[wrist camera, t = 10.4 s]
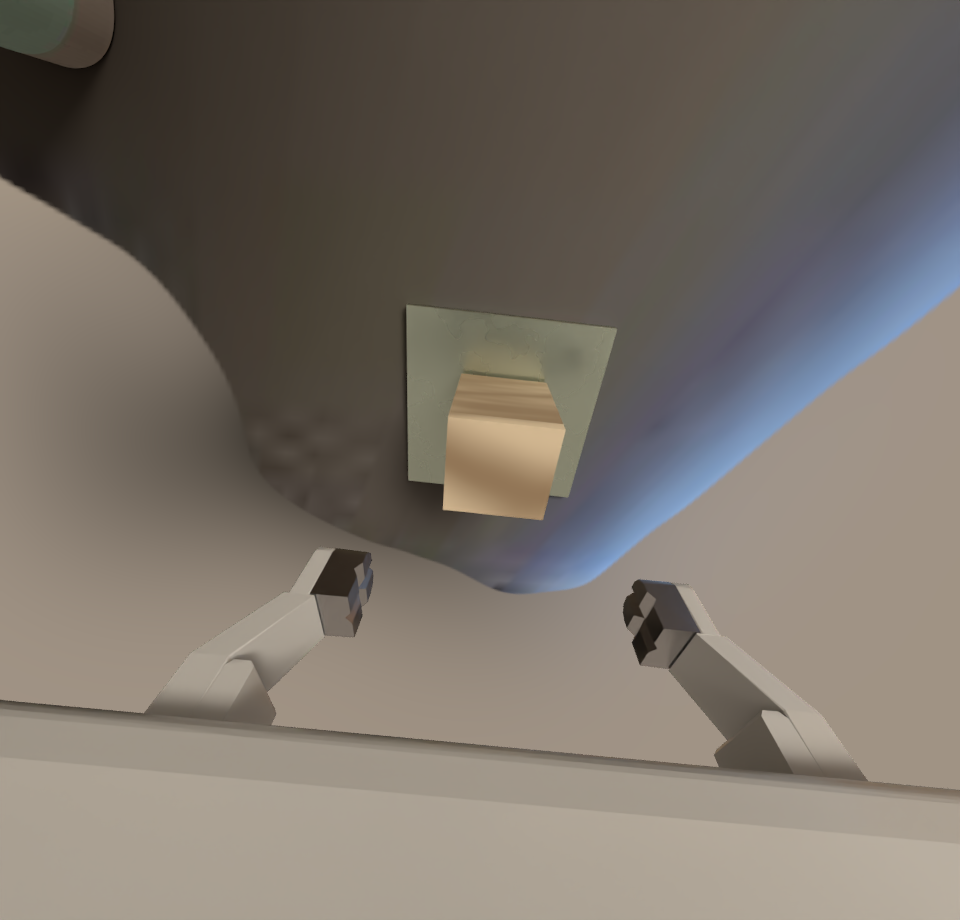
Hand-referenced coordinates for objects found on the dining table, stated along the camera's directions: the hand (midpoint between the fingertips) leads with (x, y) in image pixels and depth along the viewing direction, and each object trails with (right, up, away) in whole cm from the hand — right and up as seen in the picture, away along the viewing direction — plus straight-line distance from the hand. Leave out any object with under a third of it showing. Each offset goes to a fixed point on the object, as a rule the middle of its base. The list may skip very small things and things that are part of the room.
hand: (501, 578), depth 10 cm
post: (+1, +7, +12) cm, 14 cm away
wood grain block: (+1, +6, +11) cm, 13 cm away
